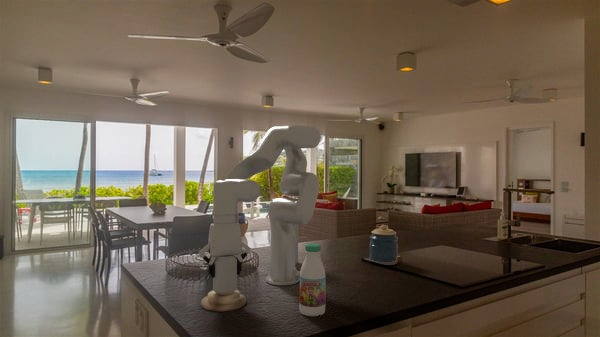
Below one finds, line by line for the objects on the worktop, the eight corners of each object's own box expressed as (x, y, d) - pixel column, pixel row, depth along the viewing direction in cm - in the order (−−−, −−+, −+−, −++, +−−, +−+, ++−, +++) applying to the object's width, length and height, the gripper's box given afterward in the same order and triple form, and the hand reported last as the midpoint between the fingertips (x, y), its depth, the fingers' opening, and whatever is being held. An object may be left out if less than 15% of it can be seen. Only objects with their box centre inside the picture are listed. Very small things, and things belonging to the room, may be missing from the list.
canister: (401, 267, 164) (401, 227, 164) (371, 266, 164) (372, 226, 164) (394, 259, 177) (394, 223, 177) (367, 259, 177) (367, 222, 177)
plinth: (250, 296, 123) (250, 287, 123) (241, 312, 109) (241, 301, 109) (208, 294, 124) (208, 285, 124) (194, 310, 110) (194, 300, 110)
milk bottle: (298, 307, 114) (299, 242, 114) (323, 307, 114) (323, 242, 114) (300, 317, 106) (301, 247, 106) (327, 316, 107) (327, 247, 107)
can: (242, 290, 118) (242, 253, 118) (224, 297, 112) (224, 257, 112) (225, 286, 122) (225, 250, 122) (207, 292, 116) (207, 254, 116)
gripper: (248, 216, 124) (248, 269, 124) (195, 219, 117) (195, 275, 117) (255, 219, 117) (255, 275, 117) (199, 222, 110) (199, 281, 110)
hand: (225, 274), depth 117 cm, fingers closed on can, 7 cm apart
